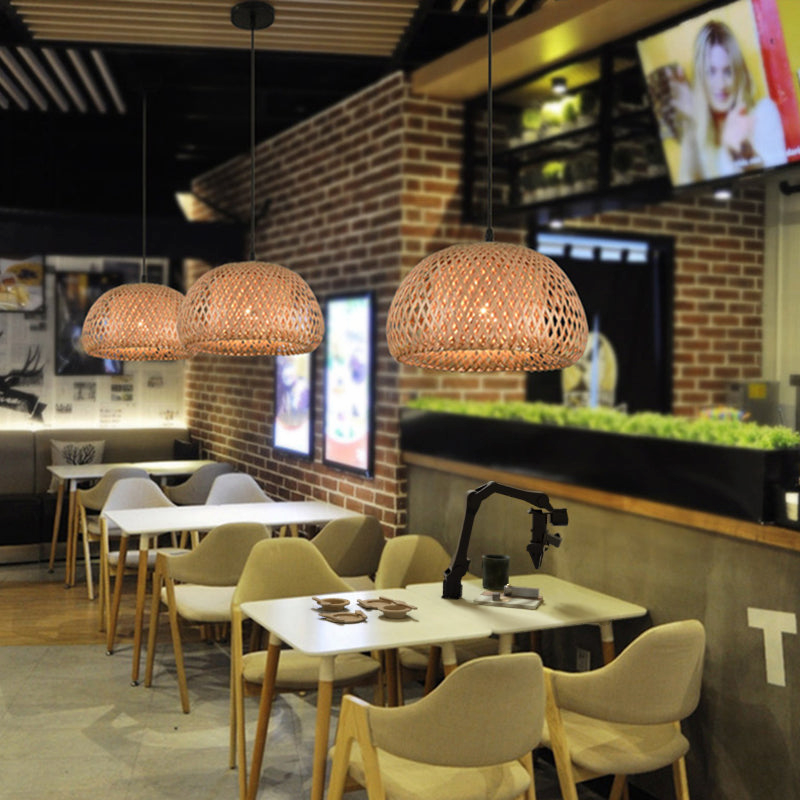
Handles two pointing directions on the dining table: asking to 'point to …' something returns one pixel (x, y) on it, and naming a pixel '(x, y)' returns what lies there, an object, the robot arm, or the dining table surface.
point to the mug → (495, 571)
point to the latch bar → (521, 591)
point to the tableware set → (382, 604)
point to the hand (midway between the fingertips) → (538, 568)
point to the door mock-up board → (507, 600)
